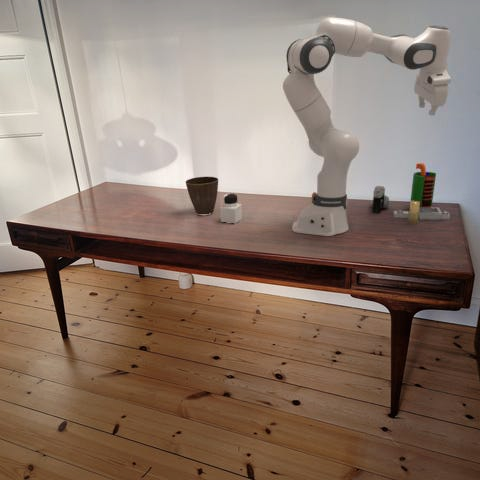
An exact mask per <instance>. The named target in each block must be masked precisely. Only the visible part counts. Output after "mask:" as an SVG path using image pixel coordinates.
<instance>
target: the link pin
mask: <svg viewBox="0 0 480 480" xmlns="http://www.w3.org/2000/svg"><path fill="white" fill-rule="evenodd" d="M419 205H420V201H417V200H412V201H411V200H410V201H409V210H410V211H409V210H408V211H409V218H408V220H407V221H408V224H410V225H418V223H419V218H418V215H419Z"/></svg>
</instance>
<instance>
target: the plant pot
mask: <svg viewBox="0 0 480 480" xmlns="http://www.w3.org/2000/svg"><path fill="white" fill-rule="evenodd" d="M185 185H186V189H187V192H188V195H189V198H190V201H191V204H192V207H193V209H194V211H195V213H196V214H197V213H198V214H209V213H212V212H213V213H214V211H215V206H216V203H217V197H218V190H219V178H218V177H215V176H197V177H192V178H188V179H186V180H185ZM198 214H197V215H198Z"/></svg>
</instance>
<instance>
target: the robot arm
mask: <svg viewBox="0 0 480 480" xmlns="http://www.w3.org/2000/svg"><path fill="white" fill-rule="evenodd" d="M450 46H451V30H450V29H449V28H448V27H445V26H441V25H440V26H439V25H429V26H428V27H427V28H426V29H425V31H423V32H422V33H421V34H419V35H418V36H416V37H414V38H413V37H411V36H409V35H407V34H396V35H392V36H387V35H383V34H378V33H374V32H373V30H372V28H371V27H369V25H366V24H365V23H362V22H359V21H357V20H353V19H349V18H342V17H326V18H324V19H322V20H321V22H319V24H318V26H317V29H316V33H315V34H314V36H313V37H303V38H299V39H297V40H295V41H293V42H292V43H291V44H290V45H289V46H288V48H287V51H286V63H287V72H288V73H289V74H288V75H287V76H286V77H285V79H284V81H283V82H282V83H283V84H282V89H283V90H282V91H283V92H284V94H285V97H286V99H287V102H288V103H289V105H290V107H291V109H292V111H293V113H294V114H295V115H296V117H297V118H298V119H297V120H299V122H300V123H301V125H302V127H303V128H304V131H305V133H306V136H307V140H308V147H309V149H310V150H311V151H312V152H313V153H314V154H315V155H317V156H319V157H321V158H323V164H322V167H321V170H320V171H319V172H318V173H317V176H316V177H317V178H316V180H317V181H316V183H317V184H316V185H317V186H316V190H317V192H314V191H313V192H312V194H311V203H310V204H309V205H307V206H306V207H305V208H302V210H301V211H299V214H298V215H297V216H298V217H297V220H295V221H294V222H293V223H292V225H291V230H292V232H294V233H296V234H307V235H315V236H323V237H333V236H334V235H340V234H342V233H343V234H344V233H346V232H348V230H349V229H350V227H349V224H348V219H347V208H348V195H347V181H348V180H347V179H348V173H349V168H350V165H351V163H352V161H353V160H354V159H355V158H356V157H357V155H358V154H359V151H360V142H359V140H358V138H357V137H356V136H355V135H354V134H352V133H350V132H348V131H346V130H341V129H338V128H336V127H335V126H334V124H333V122H332V118H331V115H332V113H331V112H332V110H331V108H330V106H329V105H328V102H327V101H326V100H325V98H324V97H323V95H322V92H321V91H320V90H319V88H318V87H317V85H316V82H315V74H319V73H322V72H324V71H325V70H326V69H328V67H329V65H330V64H331V63H332V58H333V56H334V54H336V55H341V56H345V57H350V58H360V57H363V56H364V55H366V54H367V53H373V54H377V55H380V56H384V57H385V59H387V60H388V61H389V62H390V63H393V64H396V65H399V66H400V67H402V68H406V69H407V70H413V71H414V70H418V69H419V72H418V74H417V75H416V78H415V82H414V86H413V87H414V88H413V89H414V90H413V91H414V93H415V94H416V95H418V107H419V108H421V109H422V108H423V109H424V108H425V106H426V103H425V101H426V102H428V103H429V104H430V107H431V108H430V109H429V111H428V115H430V116H431V117H433V116H435V115H436V113H437V109H438V108H439V107H444V106H445V104H447V103H446V102H447V97H448V95H449V94H448V93H449V84H451V81H452V77H451V76H450V75H449V73H448V70H447V65H448V64H447V58H448V56H449V54H450V53H449V52H450Z"/></svg>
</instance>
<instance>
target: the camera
mask: <svg viewBox="0 0 480 480" xmlns="http://www.w3.org/2000/svg"><path fill="white" fill-rule="evenodd" d="M385 193H386V188H385V187H384V185H383V186H381V185H377V186H375V187H374V189H373V193H372V194H373V197H372V214H377V215H378V214H381V209H385V208H387V207H389V203H390V197H389V196H388V195H386V194H385Z"/></svg>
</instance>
